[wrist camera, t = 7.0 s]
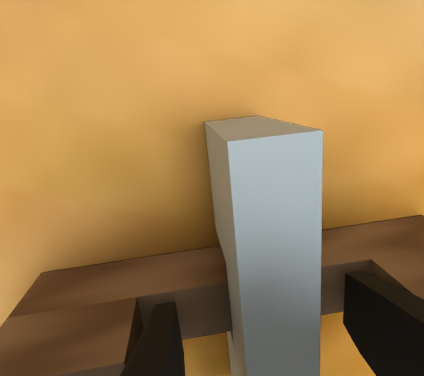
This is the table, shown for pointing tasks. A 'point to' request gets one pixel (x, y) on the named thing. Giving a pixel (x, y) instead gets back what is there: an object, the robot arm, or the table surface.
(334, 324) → the table surface
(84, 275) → the walnut u-shaped block
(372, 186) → the table surface
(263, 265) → the pale blue-gray block
